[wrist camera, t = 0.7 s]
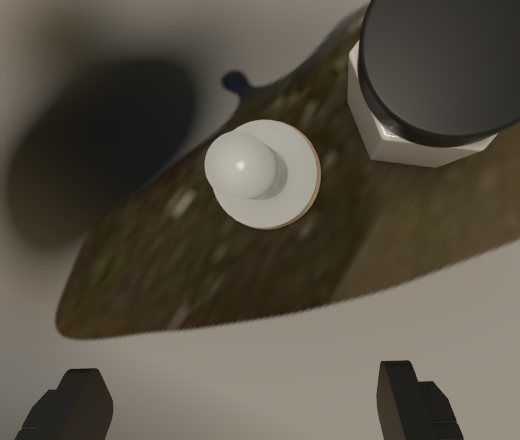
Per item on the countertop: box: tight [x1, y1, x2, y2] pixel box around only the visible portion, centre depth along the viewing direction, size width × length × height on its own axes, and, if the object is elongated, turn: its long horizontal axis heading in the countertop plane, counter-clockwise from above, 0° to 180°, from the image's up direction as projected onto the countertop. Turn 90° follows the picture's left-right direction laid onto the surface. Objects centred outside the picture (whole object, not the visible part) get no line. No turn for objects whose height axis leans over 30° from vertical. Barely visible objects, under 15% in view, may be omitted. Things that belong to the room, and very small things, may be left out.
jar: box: [347, 0, 520, 168], centre depth 22 cm, size 9×8×12 cm
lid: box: [205, 120, 318, 228], centre depth 25 cm, size 8×8×8 cm
